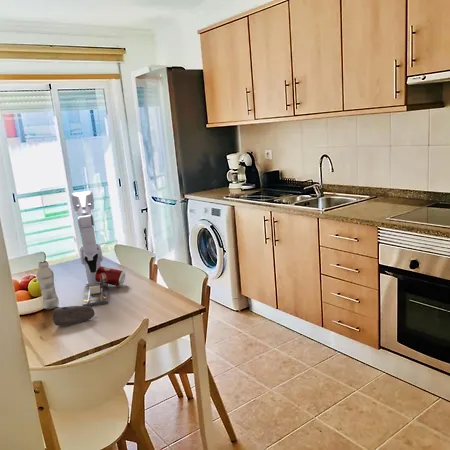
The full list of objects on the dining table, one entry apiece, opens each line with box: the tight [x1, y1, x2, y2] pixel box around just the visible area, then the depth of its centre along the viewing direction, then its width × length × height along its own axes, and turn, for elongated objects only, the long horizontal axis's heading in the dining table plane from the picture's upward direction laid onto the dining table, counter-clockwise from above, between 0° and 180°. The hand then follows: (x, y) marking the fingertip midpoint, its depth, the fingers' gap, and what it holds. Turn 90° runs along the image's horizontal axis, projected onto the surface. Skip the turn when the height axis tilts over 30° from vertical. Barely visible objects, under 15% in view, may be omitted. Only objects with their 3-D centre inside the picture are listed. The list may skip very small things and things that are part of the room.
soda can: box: [95, 265, 126, 287], centre depth 201 cm, size 7×7×12 cm
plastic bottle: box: [36, 260, 60, 310], centre depth 181 cm, size 6×7×20 cm
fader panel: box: [81, 283, 109, 308], centre depth 192 cm, size 23×10×2 cm, turn 14°
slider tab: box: [90, 283, 101, 294], centre depth 192 cm, size 3×4×4 cm
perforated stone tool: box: [51, 305, 96, 327], centre depth 166 cm, size 15×5×7 cm, turn 105°
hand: (93, 271), depth 196 cm, fingers closed
